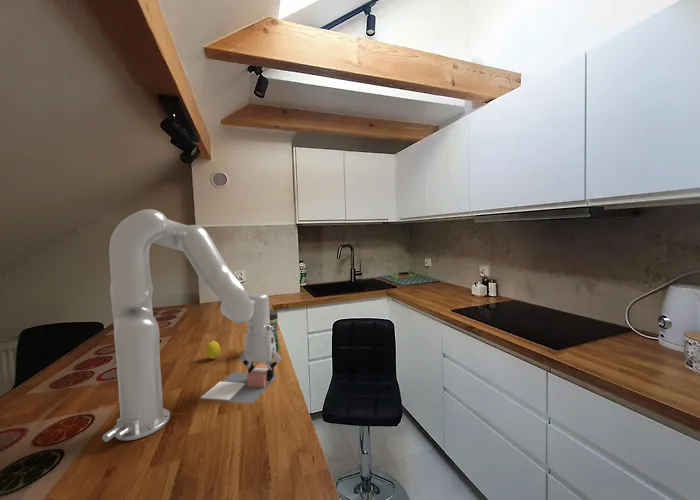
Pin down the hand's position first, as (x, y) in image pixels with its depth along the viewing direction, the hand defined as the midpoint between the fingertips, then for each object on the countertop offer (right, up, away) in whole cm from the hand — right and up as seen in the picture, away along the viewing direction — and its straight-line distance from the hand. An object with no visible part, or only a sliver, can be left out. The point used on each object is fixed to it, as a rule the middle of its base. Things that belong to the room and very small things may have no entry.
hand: (261, 378), depth 102 cm
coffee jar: (-5, 0, +27) cm, 28 cm away
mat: (-6, -2, -3) cm, 7 cm away
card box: (0, -1, 0) cm, 1 cm away
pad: (-11, -2, -6) cm, 12 cm away
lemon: (-27, -1, +21) cm, 34 cm away
